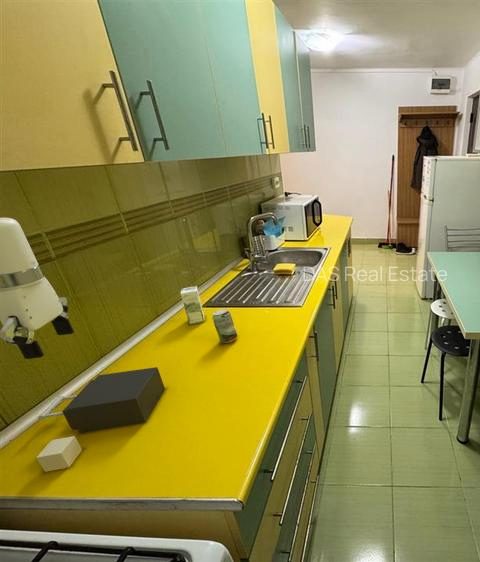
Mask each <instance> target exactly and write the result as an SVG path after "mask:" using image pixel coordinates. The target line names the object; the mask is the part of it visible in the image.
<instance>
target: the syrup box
mask: <svg viewBox="0 0 480 562" xmlns="http://www.w3.org/2000/svg"><path fill="white" fill-rule="evenodd" d="M180 297H181V300H182V304H183V308H184V310H185V314H186V318H187V321H188V325H189V326H190V325H194V324H200V323H203V322H205V313H204V310H203V305H202V301H201V297H200V294H199V290H198V286H197V285H195V286H189V287H184V288H181V289H180Z"/></svg>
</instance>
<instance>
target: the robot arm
mask: <svg viewBox="0 0 480 562" xmlns="http://www.w3.org/2000/svg"><path fill="white" fill-rule="evenodd" d="M20 224H21V223H19V222H18V221H17V220H16V219H15V218H11V217H0V323H1V324H2V327H1V329H0V339H2V340H4V341H5V342H6V343H8V344H12V346H17V347H18V348H19V351H20V353H21V354H22V356H23V358H24V359H26V360H31V359H38V358H39V359H40V358H42V357H44V356H45V353H44V351H43V349H42V347H41V346H40V344H39V342H38V340H34V337H35V332H36V331H37V330H39V329H41V328H42V327H44V326H46V325H47V324H48V323H50V322H51V325H52V326H53V328H54V330H55V333H56V335H57V336H66V335H72V334H73V333H75V330H74V329H73V326H72V324H71V322H70V320H69V317H70V314H69V313H68V311H69V306H68V298H67V297H66V296H58V294H57V292H56V290H55V289H54V288H53V287H54V286H52V284H51V283H50V282H49V280H48V279H47V278H46V276H45V275H44V273H43V271H42V269H41V266H40V264H39V262H38V261H37V258H36V256H35V254H34V251H33V249H32V247H31V245H30V243H29V241H28V239H27V237H26V234H25V233H24V230H23V228H22V226H21V225H20ZM23 334H25V337H24V336H23Z"/></svg>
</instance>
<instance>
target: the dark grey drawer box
mask: <svg viewBox="0 0 480 562" xmlns="http://www.w3.org/2000/svg"><path fill="white" fill-rule="evenodd" d="M160 373H161V372H160V370H159V368H158V366H155V367H148V368H141V369H133V370H126V371H120V372H119V371H118V372H111V373H104V374H99V375H97V377H96V378H94V379H93V380H94V381H93V382H92V383H91V384H90V385H89V386H88V387H87V388H86V389H85V390H84V391H83V393H82V394H81V395H80V396H79V397H78V398H77V399H76V400H75V401H74V402H73V403H72V404H71V406H70V407H69V408H68V409H67V410H68V411H69V414H70V416H71V417H72V419H73V421H74V423H75V425H76V427H77V429H78V430H77V431H78V433H79V434H80V435H82V434H86V433H93V432H98V431H104V430H110V429H116V428H122V427H128V426H133V425H139V424H144V423H145V424H146V423H147V422H148V419H149V418H150V416H151V415H152V413H153V412H154V409H155V407H156V406H157V404H158V402H159V401H160V399H161V397H162V395H163V394H164V392H165V390H166V388H165V385H164V382H163V379H162V376H161V374H160Z"/></svg>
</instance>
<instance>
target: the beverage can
mask: <svg viewBox="0 0 480 562" xmlns="http://www.w3.org/2000/svg"><path fill="white" fill-rule="evenodd" d="M211 319H212V323H213V324H214V327H215V330H216V333H217V336H218V338H219V339H218V340H219V342H220V343H224V344H227V343H231V342H233V341H235V340H236V338H237V337H238V333H237V329H236V327H235V323H234V321H233V317H232V314H231V312H230V311H229V310H228V309H227V308H224V309H223V308H222V309H219V310H216V311H214V312H213V313H212V317H211Z"/></svg>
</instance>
